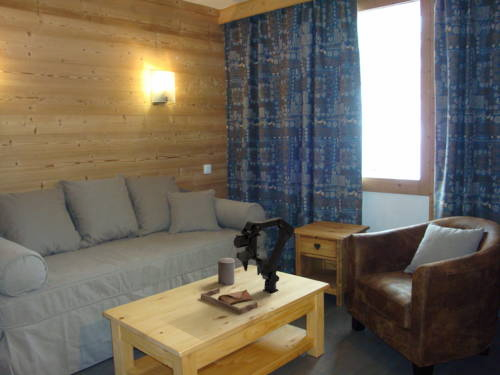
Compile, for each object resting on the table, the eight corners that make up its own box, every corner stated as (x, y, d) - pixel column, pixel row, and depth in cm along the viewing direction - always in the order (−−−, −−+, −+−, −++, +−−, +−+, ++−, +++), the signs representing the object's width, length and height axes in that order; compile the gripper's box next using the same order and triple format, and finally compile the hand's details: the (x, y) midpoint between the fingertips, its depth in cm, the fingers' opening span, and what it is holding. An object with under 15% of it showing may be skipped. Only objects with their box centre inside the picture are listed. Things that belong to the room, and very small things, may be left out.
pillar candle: (214, 283, 266) (214, 258, 263) (225, 278, 274) (225, 254, 271) (227, 286, 260) (228, 261, 258) (238, 281, 268) (238, 257, 266)
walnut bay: (218, 291, 252) (218, 287, 252) (257, 306, 232) (257, 302, 232) (200, 298, 243) (200, 294, 243) (240, 314, 223) (240, 309, 223)
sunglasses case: (225, 306, 232) (222, 294, 234) (220, 309, 238) (216, 296, 240) (255, 299, 242) (251, 287, 244) (249, 302, 247) (245, 290, 249)
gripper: (229, 244, 243) (229, 272, 245) (254, 251, 230) (254, 281, 232) (243, 240, 251) (243, 267, 253) (269, 247, 238) (269, 275, 240)
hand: (252, 273), depth 245 cm, fingers open, 9 cm apart
